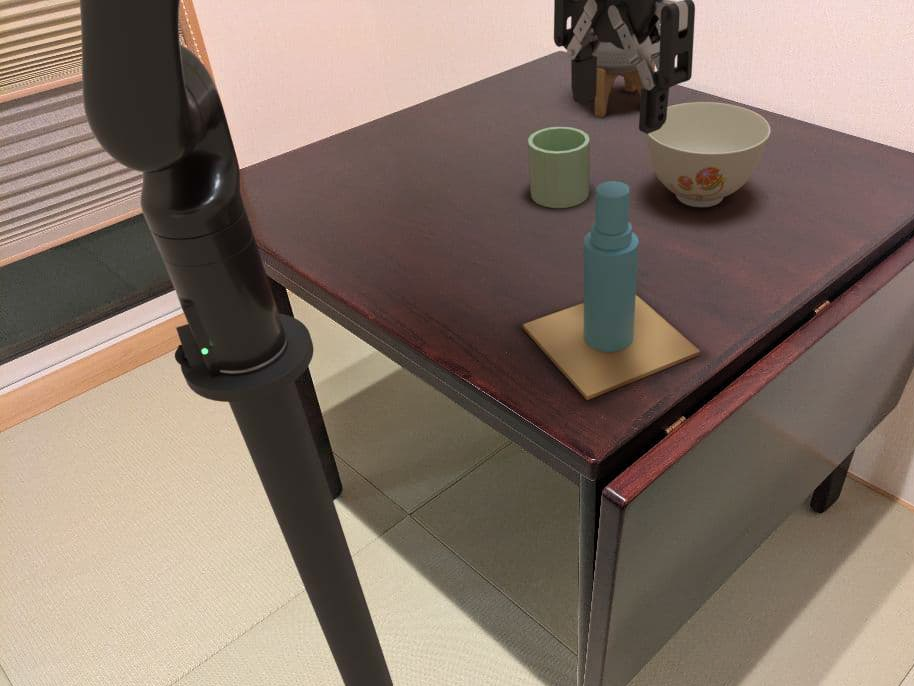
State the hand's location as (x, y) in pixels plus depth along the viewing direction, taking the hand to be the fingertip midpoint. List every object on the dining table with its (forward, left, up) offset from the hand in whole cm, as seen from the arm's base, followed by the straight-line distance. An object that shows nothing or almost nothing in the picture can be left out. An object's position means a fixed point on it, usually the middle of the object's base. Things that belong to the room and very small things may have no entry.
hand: (616, 115), depth 69 cm
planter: (+36, +55, -25) cm, 70 cm away
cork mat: (0, 0, -25) cm, 25 cm away
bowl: (+28, +21, -25) cm, 43 cm away
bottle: (0, 0, -25) cm, 25 cm away
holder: (+12, +32, -25) cm, 43 cm away
